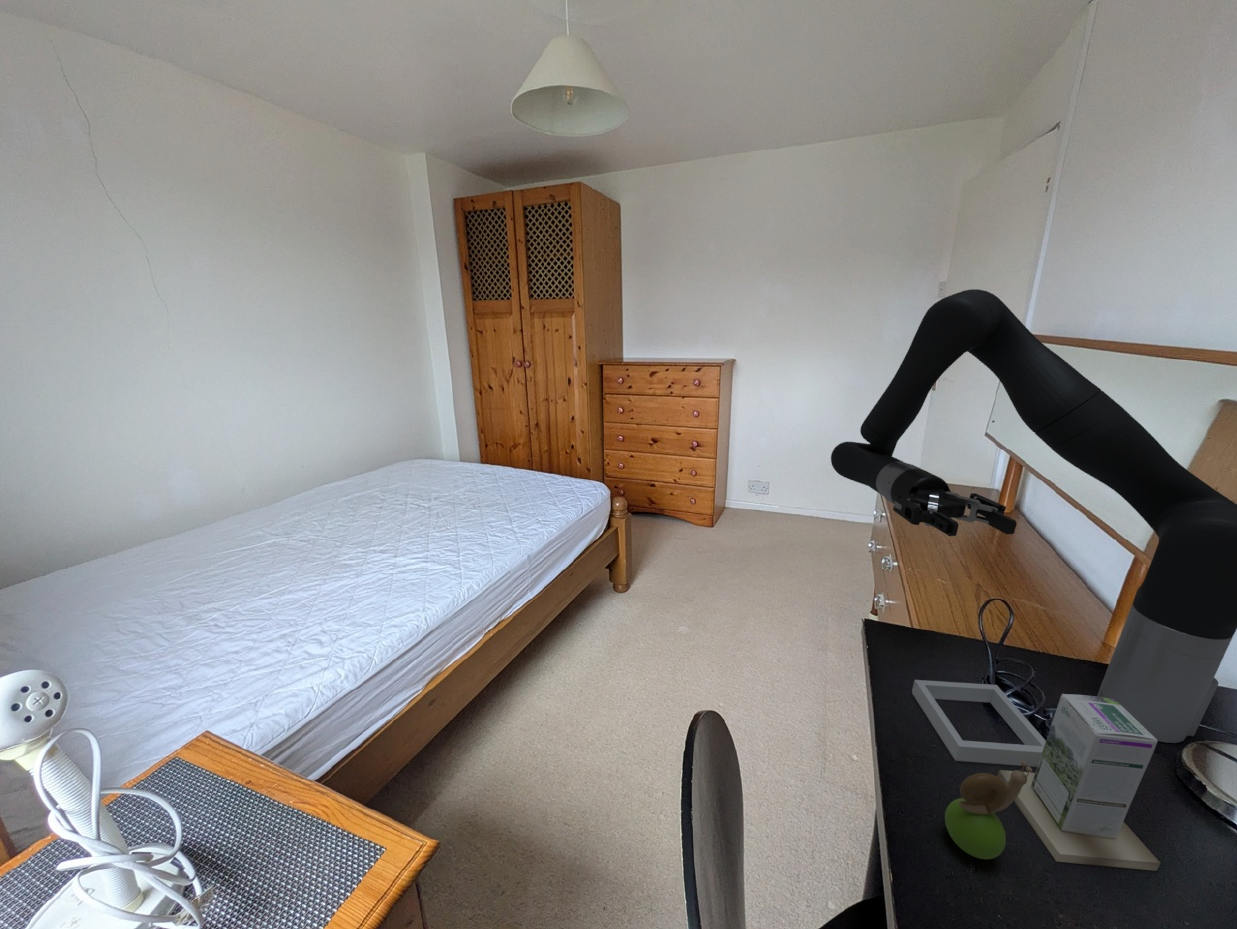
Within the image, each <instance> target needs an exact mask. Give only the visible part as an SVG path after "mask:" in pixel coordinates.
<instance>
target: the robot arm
mask: <svg viewBox="0 0 1237 929" xmlns="http://www.w3.org/2000/svg"><path fill="white" fill-rule="evenodd" d="M966 353H969V354H971V356H973V357H975V358H976V359H977V360H978V361H980V363H982V364H983V365H984V366H986V368H988V369H989V370H990V371H991V372H992V373H993V374H994V375H995V376H996V378H997V379H998V381H999V382H1000V383H1001V384H1002V386H1003V389H1004V390H1005V392H1006V394H1007V395H1008V398H1009V400H1010V401H1011V403H1012V405H1013V407H1014V409H1015V411H1016V412H1017V414H1018V416H1019V417H1020V419H1021V420H1022V422H1023V423H1024V424H1025V425H1026V426H1027V427H1028V428H1029V429H1030V430H1031V432H1033V433H1034V434H1035V436H1037V437H1038V438H1039V439H1040V440H1041V441H1042V442H1043V443H1045V444H1046V445H1047V447H1049V448H1050V449H1051V450H1052V451H1053V452H1055V453H1056V454H1057V455H1058V456H1059V457H1061V458H1062V459H1063V460H1065V461H1066V462H1068V463H1069V464H1070V465H1072V466H1074V467H1075V468H1077V469H1078V470H1080V471H1081V472H1083V473H1085V474H1087V475H1088V476H1090V477H1092V478H1094V479H1095V480H1097V481H1099V482H1101V484H1103V485H1105V486H1107V487H1108V488H1110V489H1111V490H1113V491H1114V492H1115V493H1116V494H1117V495H1119V496H1121V498H1123V499H1124V500H1125V502H1127V503H1128V504H1129V505H1130V506H1131V507H1132V509H1134V510H1135V511H1136V512H1137V513H1138V515H1139V516H1140V517H1141V518H1142V519H1143V520H1144V521H1145V522H1146V523H1147V524H1148V525H1149V527H1150V528H1151V530H1153V532H1154V533H1155V535H1156V536H1157V538H1158V542H1157V546H1156V549H1155V551H1154V554H1153V557H1152V559H1151V562H1150V565H1149V567H1148V569H1147V572H1146V575H1145V577H1144V580H1143V582H1142V584H1140V586H1139V587H1138V588H1137V590H1136V593H1135V595H1134V598H1133V601H1132V604H1131V606H1130V608H1129V611H1128V615H1127V616H1126V620H1125V623H1124V625H1123V627H1122V630H1121V633H1120V635H1119V638H1118V640H1117V643H1116V646H1115V648H1114V651H1113V654H1112V655H1111V658H1110V661H1109V664H1108V666H1107V670H1106V671H1105V674H1104V677H1103V679H1102V682H1101V684H1100V687H1099V689H1098V693H1097V695H1096V696H1097V697H1103V698H1110V699H1114V700H1116V701H1117V702H1118V703H1119V704H1120V705H1121V706H1122V707H1123V708H1124V709H1125V710H1127V711H1128V712H1129V713H1130V714H1131V715H1132V716H1133V717H1134V718H1135V719H1136V720H1137V721H1138V722H1139V723H1140V724H1141V725H1142V726H1143V727H1144V728H1145V729H1146V730H1147V731H1148V732H1149V733H1150V734H1152V735H1153V736H1154V737H1155V738H1156V739H1157V741H1158V742H1162V743H1168V744H1171V743H1172V744H1177V743H1181V742H1183V741H1185V739H1186V737H1194V736H1195V734H1196V733H1197V731H1198V728H1199V727H1200V723H1201V722H1202V720H1203V717H1204V715H1205V714H1206V712H1207V709H1208V707H1209V705H1210V703H1211V701H1212V698H1213V697H1214V694H1215V692H1216V690H1217V688H1218V686H1219V681H1218V679H1216V678H1215V676H1216V674H1217V672H1218V670H1219V669H1220V668H1219V667H1220V665H1221V663H1222V661H1223V659H1224V657H1225V654H1226V652H1227V650H1228V648H1229V646H1230V644H1231V642H1232V640H1233V638H1234V635H1235V633H1236V631H1237V503H1236V502H1235V501H1232V500H1231V499H1229V498H1228V497H1226V496H1225V495H1224V494H1222V493H1221V492H1219V491H1217V490H1216V489H1214V488H1213V487H1211V486H1210V485H1209V484H1207V483H1206V482H1205V481H1203V480H1202V479H1200V478H1199V477H1198V476H1196V475H1195V474H1193V473H1192V472H1190V470H1188V469H1187V468H1185V467H1184V466H1183V465H1181V464H1180V463H1179V462H1178V460H1176V459H1175V458H1173V456H1172V455H1170V453H1168V451H1167V450H1166V449H1165V448H1164V447H1163V446H1162V445H1161V444H1160V442H1159V441H1158V440H1157V439H1156V438H1155V437H1154V436H1153V435H1152V434H1151V433H1150V432H1149V431H1148V430H1147V429H1146V428H1145V427H1144V426H1143V425H1142V424H1141V423H1140V422H1139V421H1138V420H1136V419H1135V418H1134V417H1133V416H1132V415H1131V414H1130V413H1129V412H1128V411H1127V410H1126V409H1125V408H1123V406H1121V405H1120V404H1119V403H1118V402H1116V400H1114V399H1113V398H1112V397H1111V396H1109V395H1108V394H1107V393H1106V392H1105V391H1103V390H1102V388H1100V387H1099V386H1097V385H1096V384H1095V383H1093V382H1092V381H1090V379H1088V378H1087V377H1085V376H1084V375H1083V374H1082V373H1080V372H1079V371H1078V370H1077V369H1076V368H1074V367H1073V366H1072V365H1071V364H1069V363H1068V362H1067V361H1066V360H1065V359H1063V358H1062V357H1060V355H1058V354H1057V353H1055V352H1054V351H1053V350H1052V349H1050V348H1049V347H1047V346H1046V345H1045V344H1044V343H1042V341H1040V340H1039V339H1038V338H1037V337H1036V335H1034V334H1033V333H1032V332H1031V331H1030V330H1029V329H1028V327H1026V325H1025V324H1023V322H1022V321H1021V320H1020V319H1019V318H1018V317H1017V315H1015V314H1014V312H1012V310H1011V309H1010V308H1009V307H1008V306H1007V305H1006V304H1005V303H1004V301H1002V300H1001V299H1000V298H999V297H998V296H997V295H995V294H993V293H991V292H990V291H987V290H983V289H978V288H977V289H975V288H973V289H966V290H965V289H964V290H962V291H960V292H956V293H953V294H950V295H948V296H945V297H943V298H941V299H939V300H938V301H936V302H935V303H933V304H932V305H931V306H930V307H929V308H928V309H927V310H926V312H925V314H924V316H923V317H922V320H921V322H920V324H919V326H918V328H917V330H916V331H915V334H914V336H913V339H912V341H911V343H910V345H909V347H908V350H907V352H906V354H905V356H904V357H903V360H902V362H901V363H900V365H899V368H898V369H897V371H896V373H895V375H894V376H893V378H892V379H891V381H890V382H889V384H888V386H887V387H886V388H885V390H884V392H883V393H882V395H881V396H880V397H879V399H878V400H877V402H876V403H875V404H874V406H873V408H872V409H871V410H870V411H869V413H868V414H867V415H866V417H865V419H864V421H863V422H862V424H861V425H860V430H859V431H860V435H861V437H862V439H863V440H864V441H866V442H867V443H866V442H865V443H864V442H856V441H843V442H841V443H839V444H837V445H836V446H835V447H834V448H833V450H832V451H831V454H830V462H831V463H830V464H831V465H832V468H833V469H834V471H835V472H836V473H837V474H838V475H839V476H842V477H843V478H845V479H847V480H850V481H853V482H855V483H859V484H862V485H864V486H867V487H869V488H871V489H872V490H873V491H875V492H877V493H878V494H880V495H881V496H883V497H884V499H886V500H887V501H888V502H889V503H891V504H893V508H892V511H893V512H895V514H898V516H900V517H901V518H903V519H904V520H906V521H907V522H908V523H910V524H911V525H914V526H919V525H921V524H920V523H923V524H924V525H925V526H927V527H933V528H935V529H937V530H939V532H942V533H943V534H945V535H946V536H948V537H956V536H957V533H958V530H959V523H958V521H957V520H961V521H964V522H967V523H974V522H980V523H983V524H987V525H988V526H990V527H992V528H993V529H996V530H997V531H999V532H1002V533H1003V534H1005V535H1014V534H1015V532H1016V527H1017V523H1018V522H1017V520H1015V519H1013V518H1012V517H1009V516H1007V515H1005V512H1006V510H1007V506H1005V505H1003V504H1001V503H999V502H996V501H994V500H992V499H989V498H987V497H985V496H983V495H980V494H978V493H977V492H975V493H974V492H973V493H970V495H969V497H967V496H963V495H960V494H959V493H956V492H953V491H951V489H950V486H949V485H948V483H947V482H946V481H945V479H943V478H941V477H940V476H937V475H935V474H933V473H931V472H929V471H927V470H925V469H922V468H920V467H918V466H916V465H914V464H911V463H907V462H904V461H903V460H901V459H899V458H896V457H894V456H893V455H894V452H895V449H896V446H897V444H898V441H899V440H900V439H901V437H903V435H904V434H905V433H906V431H907V430H908V428H910V426H911V425H912V423H913V422H914V421H915V420H916V418H917V417H918V415H919V413H920V412H921V409H922V408H923V406H924V403H925V402H926V399H927V397H928V395H929V393H930V391H931V390H932V389H933V387H934V385H935V384H936V382H938V380H939V379H940V378H941V376H942V375H943V374H944V373H945V372H946V371H947V370H948V369H949V368H950V367H951V366H952V365H953V364H954V363H956V361H957V360H958V359H960V358H961V357H962V356H963V355H964V354H966ZM966 508H967V509H968V510H969V514H968V515H967V514H965V512H966ZM955 519H957V520H955Z"/></svg>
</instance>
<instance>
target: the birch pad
mask: <svg viewBox="0 0 1237 929" xmlns="http://www.w3.org/2000/svg"><path fill="white" fill-rule="evenodd" d="M1013 771H1014V770H1003V769H1001V770H1000V769H999V770H998V772H997V775H996V776H997V777H998V778H1000V779H1001V780H1002V781H1003V783H1004V784H1005V785H1006V784H1007V782H1008V781H1009V780H1010V778H1011V777H1010V775H1011V773H1012V772H1013ZM1022 772H1023V773H1024V774H1025V775H1027V774H1028V772H1027V771H1022ZM1034 775H1035V772H1031V773H1030V772H1029V774H1028V776H1027V783H1026V784H1024V785H1023V786H1022V788H1021V791H1020V793H1019V794H1018V796H1017V797H1016V799H1015V800H1014V801H1013V803H1014V804H1015V805H1016V807H1017V808H1018V809H1019V810H1020V812H1021V813H1022V815H1023V816H1024V818H1025V819H1026V820H1027V822H1028V823H1029V825H1030V826H1031V827H1032V829H1033V830H1034V832H1035V833H1036V835H1037V836H1038V837H1039V839H1040V840H1041V842H1042V843H1043V844H1044V845H1045V847H1046V849H1047V850H1048V852H1049V853H1050V855H1051V856H1052V857H1053V858H1054V860H1055V861H1056V862H1058V863H1066V864H1067V863H1068V864H1079V865H1088V866H1101V867H1111V868H1122V869H1132V870H1133V869H1134V870H1142V871H1143V870H1144V871H1152V872H1153V871H1155V872H1157V871H1158V870H1159V867H1160V865H1161V862H1160V860H1158V858H1157V857H1156V856H1155V855H1154V854H1153V853H1152V852H1151V850H1150V849H1149V848H1148V847H1147V846H1146V845H1145V844H1144V843H1143V842H1142V840H1141V839H1139V837H1138V836H1137V835H1136V834H1135V833H1134V832H1133V831H1132V829H1131V828H1130V827H1129V826H1128V825H1127V824H1126V822H1124V821H1123V824H1122V826H1121V829H1120V831H1119V834H1118V836H1117V838H1116V839H1113V838H1105V837H1098V836H1091V835H1085V834H1078V833H1072V832H1067V831H1063V830H1061V829H1060V828H1059V826H1058V825H1057V823H1056V822H1055V820H1054V819H1053V817H1052V816H1051V814H1050V813H1049V811H1048V810H1047V809H1046V807H1045V806H1044V804H1043V803H1042V801H1041V800H1040V798H1039V797H1038V795H1037V794H1036V792H1035V791H1034V789H1033V788H1032V786H1031V784H1032V781H1033V778H1034Z"/></svg>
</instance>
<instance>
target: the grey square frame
mask: <svg viewBox="0 0 1237 929" xmlns="http://www.w3.org/2000/svg"><path fill="white" fill-rule="evenodd" d="M911 690H912V691H911V694H912V696H913V697H914V698H915V700H916V702H917V703H918V704H919V706H920V708H921V710H922V712H923V713H924V714H925V716H926V718H927V719H928V720H929V723H930V724H931V725H932V727H933V728H934V729H935V731H936V733H937V735H938V736H939V738H940V739H941V741H942V742H943V744H944V746H945V747H946V748H947V750H948V752H949V753H950V755H951V756H952V758H953V759H954V761H955V762H968V763H980V764H981V763H982V764H994V765H1006V766H1019V767H1020V766H1021V767H1023V766H1022V765H1021V761H1025V762H1026V763H1027V767H1031V768H1033V767H1034V768H1037V766H1038V763H1039V760H1040V757H1041V754H1042V751H1043V748H1044V745H1045V742H1046V740H1047V739H1045V738H1044V737H1043V736H1042V734H1041V733H1040V732H1039V731H1038V730H1037V729H1036V728H1035V727H1034V725H1033V724H1032V723H1031V722H1030V721H1029V720H1028V719H1027V718H1026V716H1024V714H1023V713H1022V712H1021V711H1020V710H1019V708H1018V707H1017V706H1016V705H1015V704H1014V703H1013V702H1012V701H1011V699H1010V698H1009V697H1008V696H1007V695H1006V694H1005V692H1004V691H1002V689H1001V688H1000V687H999V686H998V685H997V684H990V683H989V684H988V683H969V682H954V681H942V680H941V681H940V680H938V681H937V680H924V679H923V680H921V679H914V681H913V685H912V689H911ZM936 700H946V701H961V702H973V703H976V702H977V703H990V704H991V706H992V707H993V708H994V710H996V712H997V713H998V714H999V715H1000V716H1001V718H1003V720H1004V721H1005V723H1006V724H1008V726H1009V727H1010V728H1011V730H1012V731H1013V732H1014V733H1015V734H1016V736H1017V737H1018V738H1019V740H1020V741H1021V742H1022V743H1023V744H1016V743H1005V742H1004V743H1001V742H991V741H990V742H988V741H974V740H963V738H962V737H961V736H960V734H959V733H958V731H957V730H956V728H955V727H954V725H953V724H952V722H951V721H950V719H949V718H948V716H946V714H945V712H944V711H943V709H942V708H941V707H940V705H939V704H938V702H937V701H936Z"/></svg>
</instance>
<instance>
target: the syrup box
mask: <svg viewBox="0 0 1237 929" xmlns="http://www.w3.org/2000/svg"><path fill="white" fill-rule="evenodd" d="M1045 740H1046V742H1045V745H1044V748H1043V751H1042V754H1041V757H1040V760H1039V763H1038V766H1037V767H1036V769H1035V772H1034V773H1035V775H1034V778H1033V781H1032V784H1031V786H1032V788H1033V789H1034V791H1035V792H1036V794H1037V795H1038V797H1039V798H1040V800H1041V801H1042V803H1043V804H1044V806H1045V807H1046V809H1047V810H1048V811H1049V813H1050V814H1051V816H1052V817H1053V819H1054V820H1055V822H1056V823H1057V825H1058V826H1059V828H1060V829H1061V830H1063V831H1067V832H1072V833H1078V834H1085V835H1091V836H1098V837H1105V838H1113V839H1116V838H1117V836H1118V834H1119V831H1120V829H1121V826H1122V824H1123V822H1124V821H1125V818H1126V816H1127V814H1128V812H1129V809H1130V807H1131V804H1132V802H1133V799H1134V797H1135V796H1136V792H1137V791H1138V789H1139V786H1140V783H1141V781H1142V778H1143V777H1144V774H1145V772H1146V770H1147V767H1148V765H1149V764H1150V761H1151V759H1152V756H1153V754H1154V751H1155V749H1156V746H1157V744H1158V742H1159V741H1157V739H1156V738H1155V737H1154V736H1153V735H1152V734H1150V733H1149V732H1148V731H1147V730H1146V729H1145V728H1144V727H1143V726H1142V725H1141V724H1140V723H1139V722H1138V721H1137V720H1136V719H1135V718H1134V717H1133V716H1132V715H1131V714H1130V713H1129V712H1128V711H1127V710H1125V709H1124V708H1123V707H1122V706H1121V705H1120V704H1119V703H1118V702H1117V701H1116V700H1114V699H1110V698H1103V697H1097V695H1096V696H1095V695H1085V694H1071V693H1061V695H1060V698H1059V701H1058V704H1057V708H1056V710H1055V713H1054V716H1053V719H1052V722H1051V724H1050V729H1049V731H1048V735H1047V737H1046V739H1045Z"/></svg>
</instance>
